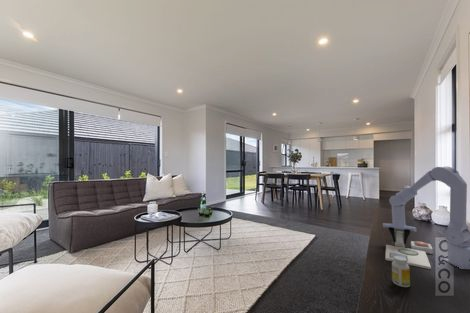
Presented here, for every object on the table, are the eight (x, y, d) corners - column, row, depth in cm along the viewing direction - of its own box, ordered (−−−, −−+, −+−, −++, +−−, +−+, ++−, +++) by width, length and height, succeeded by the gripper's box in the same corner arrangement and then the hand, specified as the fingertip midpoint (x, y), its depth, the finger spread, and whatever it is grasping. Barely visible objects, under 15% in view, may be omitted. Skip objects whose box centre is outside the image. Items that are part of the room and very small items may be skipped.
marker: (406, 247, 114) (406, 233, 114) (398, 247, 114) (397, 233, 114) (401, 244, 118) (400, 231, 118) (393, 244, 118) (392, 231, 119)
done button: (427, 247, 108) (427, 245, 108) (415, 245, 111) (415, 243, 111) (426, 244, 112) (426, 242, 112) (415, 242, 115) (415, 240, 115)
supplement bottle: (391, 283, 80) (390, 258, 81) (393, 278, 84) (392, 253, 85) (409, 289, 77) (408, 262, 77) (410, 283, 81) (409, 257, 81)
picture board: (431, 269, 91) (430, 266, 91) (385, 259, 100) (385, 257, 100) (425, 253, 107) (425, 251, 107) (386, 246, 116) (386, 244, 116)
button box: (432, 254, 106) (432, 249, 106) (412, 250, 111) (411, 245, 111) (430, 248, 112) (430, 244, 112) (411, 245, 117) (410, 241, 117)
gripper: (415, 217, 115) (416, 242, 115) (382, 214, 124) (383, 237, 124) (416, 220, 110) (417, 247, 109) (382, 216, 118) (383, 241, 118)
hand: (399, 242), depth 116 cm, fingers closed on marker, 4 cm apart
